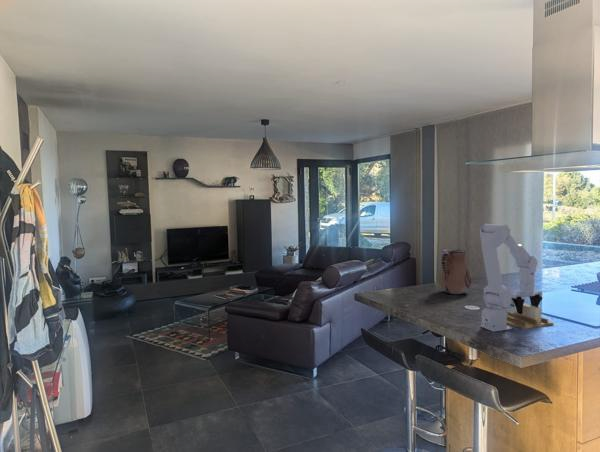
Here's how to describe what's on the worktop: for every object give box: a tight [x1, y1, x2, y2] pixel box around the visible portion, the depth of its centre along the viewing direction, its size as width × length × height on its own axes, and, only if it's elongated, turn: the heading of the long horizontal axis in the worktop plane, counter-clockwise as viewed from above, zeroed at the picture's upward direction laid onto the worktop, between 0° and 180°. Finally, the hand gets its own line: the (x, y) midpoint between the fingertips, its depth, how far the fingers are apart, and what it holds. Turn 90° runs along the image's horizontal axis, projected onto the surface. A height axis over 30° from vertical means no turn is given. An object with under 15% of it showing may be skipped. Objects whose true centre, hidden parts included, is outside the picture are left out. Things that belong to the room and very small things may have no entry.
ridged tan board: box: [507, 310, 554, 330], centre depth 186 cm, size 16×18×2 cm
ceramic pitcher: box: [438, 248, 472, 295], centre depth 244 cm, size 18×21×25 cm
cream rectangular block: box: [513, 302, 542, 323], centre depth 186 cm, size 3×12×6 cm, turn 15°
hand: (526, 312), depth 186 cm, fingers open, 7 cm apart
